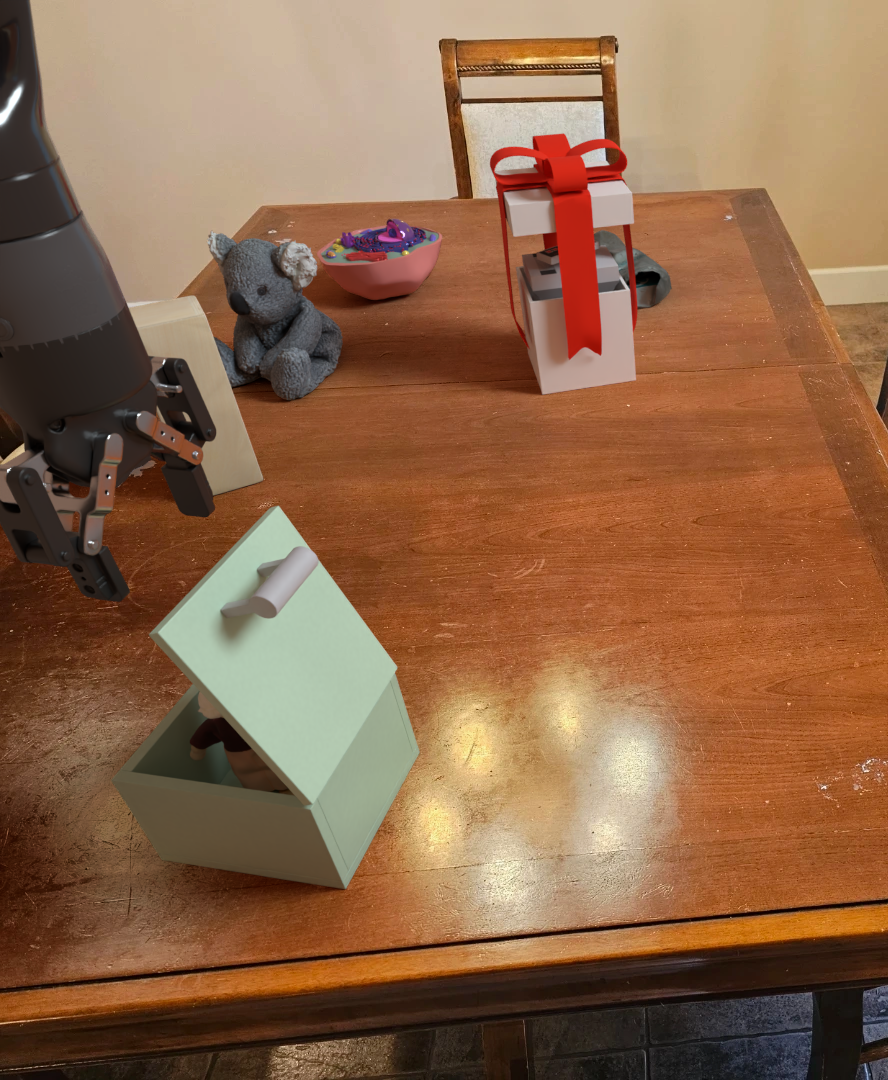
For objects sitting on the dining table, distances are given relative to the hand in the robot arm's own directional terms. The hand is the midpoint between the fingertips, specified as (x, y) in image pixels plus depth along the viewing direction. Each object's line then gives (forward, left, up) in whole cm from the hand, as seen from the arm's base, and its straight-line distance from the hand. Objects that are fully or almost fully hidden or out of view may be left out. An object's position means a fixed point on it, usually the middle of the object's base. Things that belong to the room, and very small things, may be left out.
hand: (157, 553), depth 58 cm
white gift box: (+30, +70, -25) cm, 80 cm away
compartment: (+2, -1, -25) cm, 25 cm away
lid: (+6, -2, -8) cm, 10 cm away
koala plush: (-11, +78, -25) cm, 83 cm away
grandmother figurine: (0, 0, -24) cm, 24 cm away
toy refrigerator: (-14, +50, -25) cm, 58 cm away
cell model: (+1, +104, -25) cm, 107 cm away
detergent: (+39, +99, -25) cm, 110 cm away
